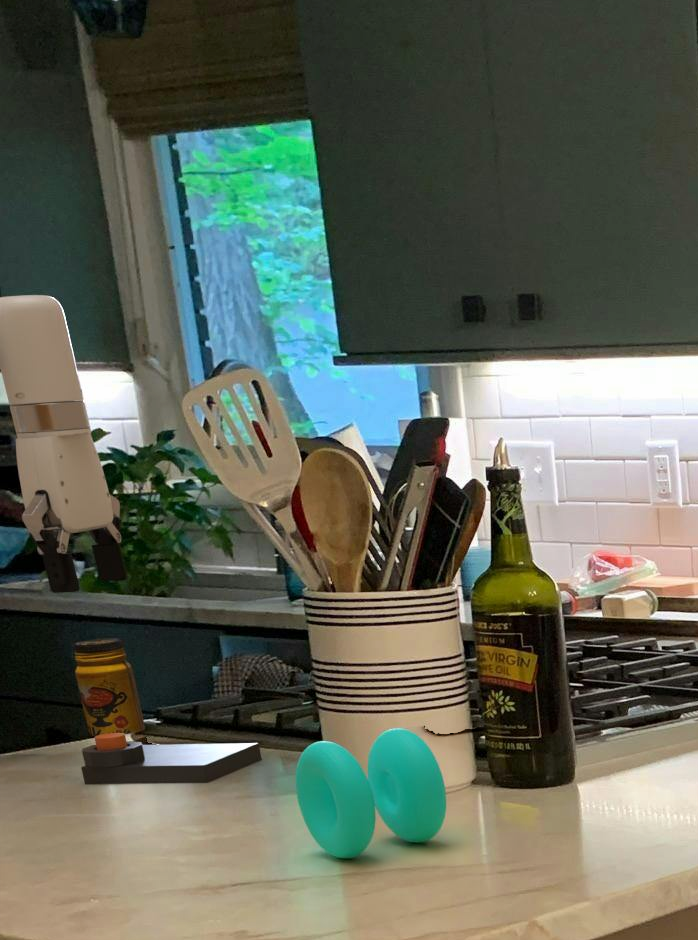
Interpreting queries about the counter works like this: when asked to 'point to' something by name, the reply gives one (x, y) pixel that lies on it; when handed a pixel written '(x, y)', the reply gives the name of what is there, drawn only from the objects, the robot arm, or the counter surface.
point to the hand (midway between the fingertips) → (90, 586)
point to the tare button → (110, 741)
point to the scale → (166, 762)
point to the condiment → (108, 688)
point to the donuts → (370, 792)
